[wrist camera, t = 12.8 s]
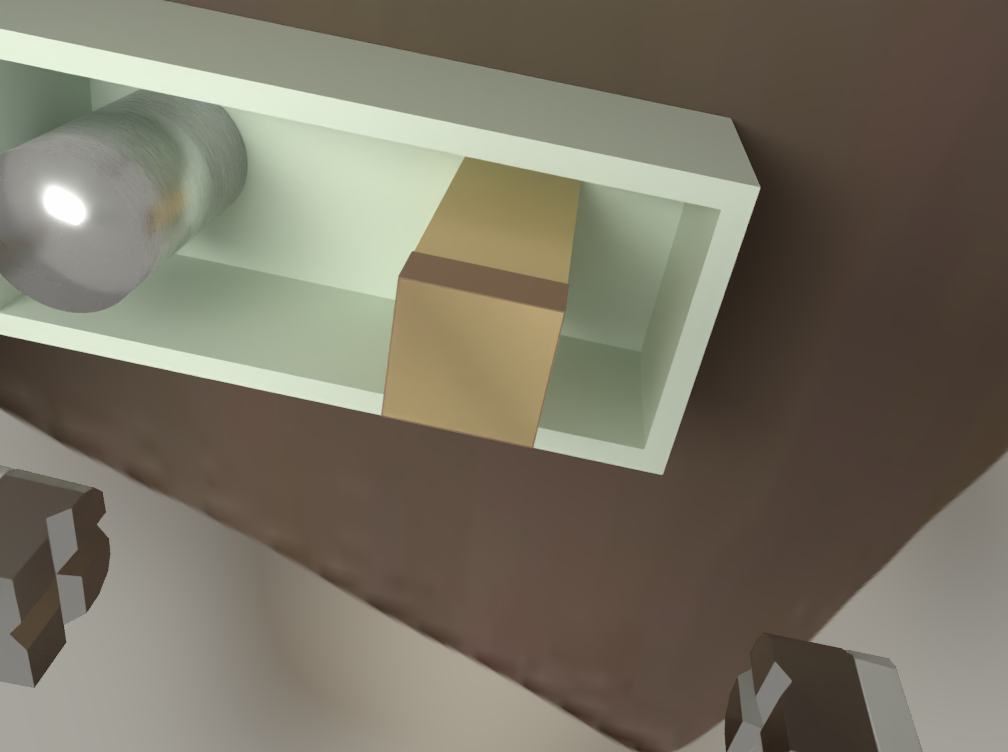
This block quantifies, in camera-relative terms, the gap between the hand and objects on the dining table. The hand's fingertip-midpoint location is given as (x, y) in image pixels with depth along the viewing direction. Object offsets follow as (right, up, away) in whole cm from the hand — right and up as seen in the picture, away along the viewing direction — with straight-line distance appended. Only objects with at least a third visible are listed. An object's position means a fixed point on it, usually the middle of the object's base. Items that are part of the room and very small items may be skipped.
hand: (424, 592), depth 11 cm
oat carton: (+1, +10, +28) cm, 29 cm away
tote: (-4, +11, +29) cm, 31 cm away
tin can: (-13, +13, +28) cm, 33 cm away
